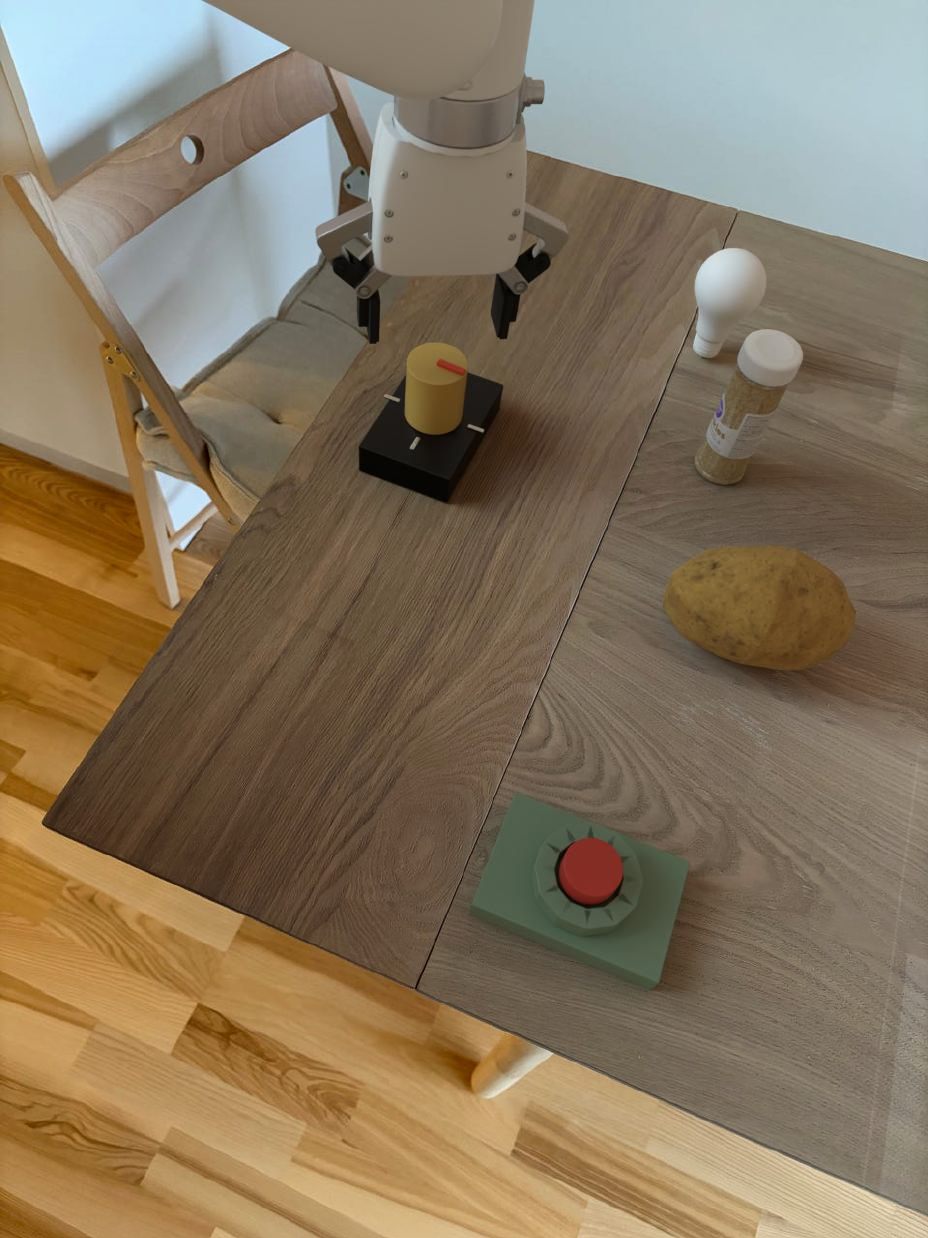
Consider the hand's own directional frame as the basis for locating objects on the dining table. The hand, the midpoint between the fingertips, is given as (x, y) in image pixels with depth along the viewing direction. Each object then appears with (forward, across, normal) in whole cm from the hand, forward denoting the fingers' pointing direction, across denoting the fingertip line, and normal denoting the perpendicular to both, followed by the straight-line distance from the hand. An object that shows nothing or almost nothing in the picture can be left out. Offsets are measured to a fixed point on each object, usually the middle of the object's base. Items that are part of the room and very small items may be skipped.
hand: (435, 329), depth 70 cm
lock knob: (+9, -1, 0) cm, 9 cm away
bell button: (+9, -4, +40) cm, 41 cm away
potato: (+12, -21, +22) cm, 33 cm away
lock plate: (+12, -1, 0) cm, 12 cm away
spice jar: (+12, -25, +5) cm, 28 cm away
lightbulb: (+12, -28, -9) cm, 32 cm away
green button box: (+12, -4, +40) cm, 42 cm away
